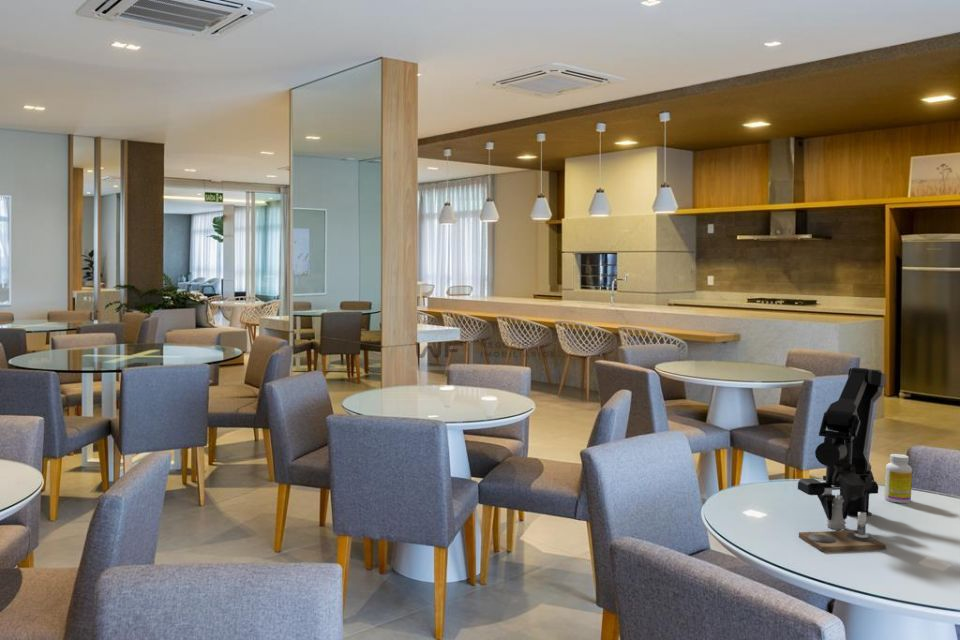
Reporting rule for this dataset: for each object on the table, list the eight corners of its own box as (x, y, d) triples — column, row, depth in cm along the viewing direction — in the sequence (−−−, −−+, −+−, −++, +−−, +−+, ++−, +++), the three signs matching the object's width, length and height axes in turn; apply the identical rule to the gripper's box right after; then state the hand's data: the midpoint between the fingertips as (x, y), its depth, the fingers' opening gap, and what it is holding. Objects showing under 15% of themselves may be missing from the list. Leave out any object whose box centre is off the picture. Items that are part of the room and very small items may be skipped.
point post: (863, 534, 193) (864, 510, 192) (871, 539, 189) (872, 514, 189) (850, 535, 192) (851, 510, 192) (858, 539, 189) (859, 514, 189)
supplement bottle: (915, 504, 222) (917, 458, 222) (891, 503, 223) (893, 458, 222) (903, 497, 229) (905, 453, 228) (879, 496, 229) (881, 452, 228)
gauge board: (859, 534, 196) (859, 529, 196) (885, 549, 186) (885, 544, 186) (798, 537, 194) (798, 531, 194) (821, 552, 184) (821, 546, 184)
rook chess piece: (823, 524, 204) (824, 493, 203) (839, 524, 204) (841, 493, 204) (832, 530, 199) (833, 498, 199) (849, 530, 200) (850, 498, 199)
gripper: (822, 467, 191) (819, 531, 192) (894, 465, 194) (890, 528, 195) (797, 456, 202) (795, 516, 203) (866, 454, 205) (863, 514, 206)
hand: (836, 519), depth 202 cm, fingers closed on rook chess piece, 3 cm apart
